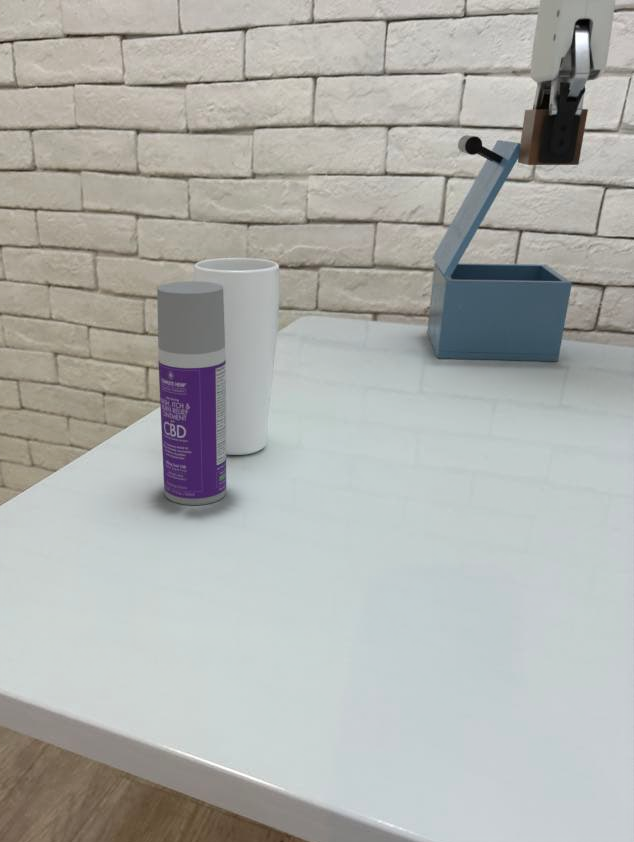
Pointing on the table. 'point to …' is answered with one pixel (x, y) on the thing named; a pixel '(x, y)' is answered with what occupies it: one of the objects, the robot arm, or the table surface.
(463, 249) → the lid
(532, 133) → the block
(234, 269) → the drinking glass
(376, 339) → the table surface
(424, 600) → the table surface
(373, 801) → the table surface
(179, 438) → the container
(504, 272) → the blue storage box
